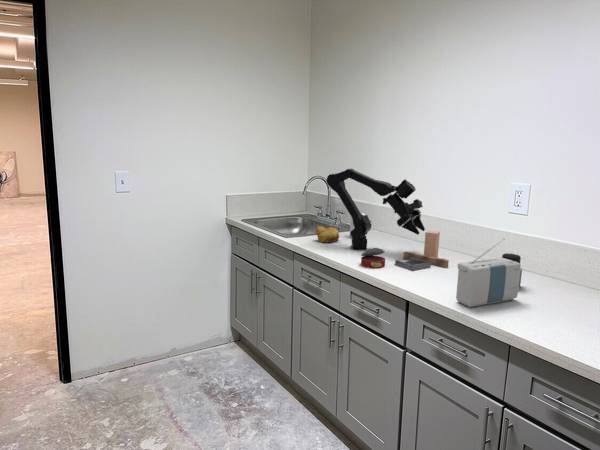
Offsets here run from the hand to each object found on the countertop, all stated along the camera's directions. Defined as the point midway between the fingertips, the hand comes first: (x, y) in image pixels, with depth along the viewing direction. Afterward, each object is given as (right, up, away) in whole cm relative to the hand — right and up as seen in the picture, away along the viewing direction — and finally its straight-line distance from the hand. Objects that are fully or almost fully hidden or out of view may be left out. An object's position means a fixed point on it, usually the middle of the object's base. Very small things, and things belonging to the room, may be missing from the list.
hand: (421, 232), depth 208 cm
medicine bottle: (+22, -19, -37) cm, 47 cm away
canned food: (-24, -14, -12) cm, 30 cm away
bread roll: (-39, -5, +30) cm, 50 cm away
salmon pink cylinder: (+4, -12, 0) cm, 12 cm away
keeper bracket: (-7, -14, -13) cm, 20 cm away
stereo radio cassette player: (+7, -22, -53) cm, 58 cm away
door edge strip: (-1, -13, -7) cm, 15 cm away
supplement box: (-24, -4, +40) cm, 47 cm away
